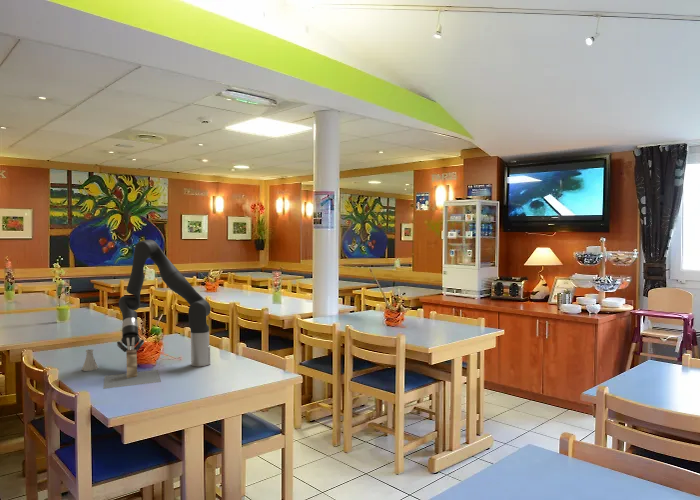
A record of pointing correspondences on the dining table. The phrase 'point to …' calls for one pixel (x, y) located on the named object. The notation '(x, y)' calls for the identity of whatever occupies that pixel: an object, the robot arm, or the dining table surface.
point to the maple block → (131, 363)
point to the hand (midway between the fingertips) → (131, 357)
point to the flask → (89, 362)
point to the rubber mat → (131, 379)
